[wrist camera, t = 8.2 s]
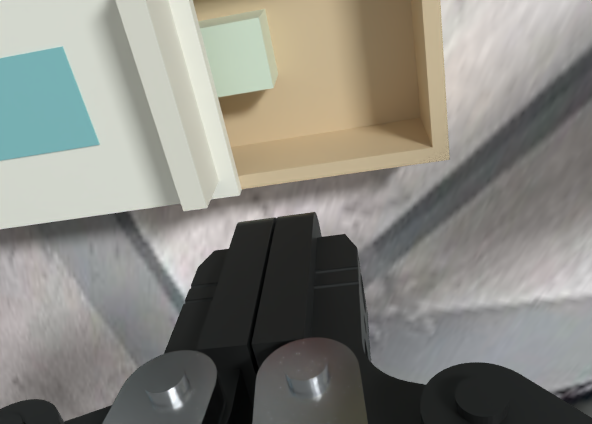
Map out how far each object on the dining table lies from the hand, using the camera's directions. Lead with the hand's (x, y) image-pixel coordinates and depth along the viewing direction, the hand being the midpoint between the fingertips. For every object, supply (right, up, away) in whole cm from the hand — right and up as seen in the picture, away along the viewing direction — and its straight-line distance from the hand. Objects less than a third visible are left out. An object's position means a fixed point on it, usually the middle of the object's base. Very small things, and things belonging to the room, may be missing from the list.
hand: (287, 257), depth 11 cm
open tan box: (-2, +11, +20) cm, 23 cm away
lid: (-13, +7, +17) cm, 22 cm away
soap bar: (-4, +10, +20) cm, 23 cm away
